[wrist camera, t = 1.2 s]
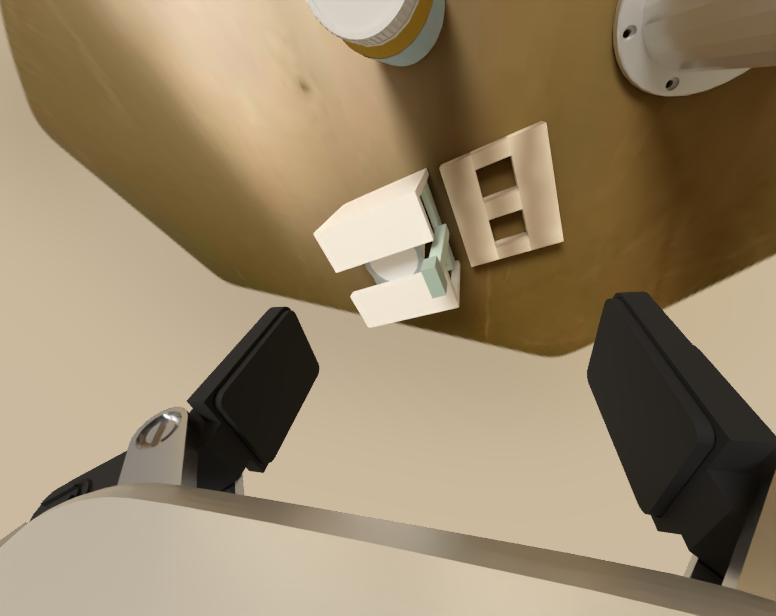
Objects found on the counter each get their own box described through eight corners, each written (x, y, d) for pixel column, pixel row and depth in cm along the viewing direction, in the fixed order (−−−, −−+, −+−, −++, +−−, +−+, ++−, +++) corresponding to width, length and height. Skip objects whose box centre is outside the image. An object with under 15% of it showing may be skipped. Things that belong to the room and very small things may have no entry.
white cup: (419, 266, 40) (412, 294, 34) (371, 249, 40) (356, 274, 34) (438, 219, 36) (433, 243, 30) (385, 200, 36) (370, 220, 30)
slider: (434, 177, 33) (417, 223, 21) (461, 256, 37) (459, 328, 26) (350, 212, 37) (300, 266, 26) (384, 279, 42) (354, 349, 31)
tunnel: (426, 167, 32) (414, 191, 25) (460, 264, 38) (459, 307, 31) (343, 204, 37) (312, 233, 29) (385, 286, 43) (368, 328, 35)
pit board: (541, 120, 28) (546, 122, 26) (559, 234, 34) (563, 241, 32) (440, 164, 32) (439, 168, 30) (471, 259, 38) (471, 267, 36)
